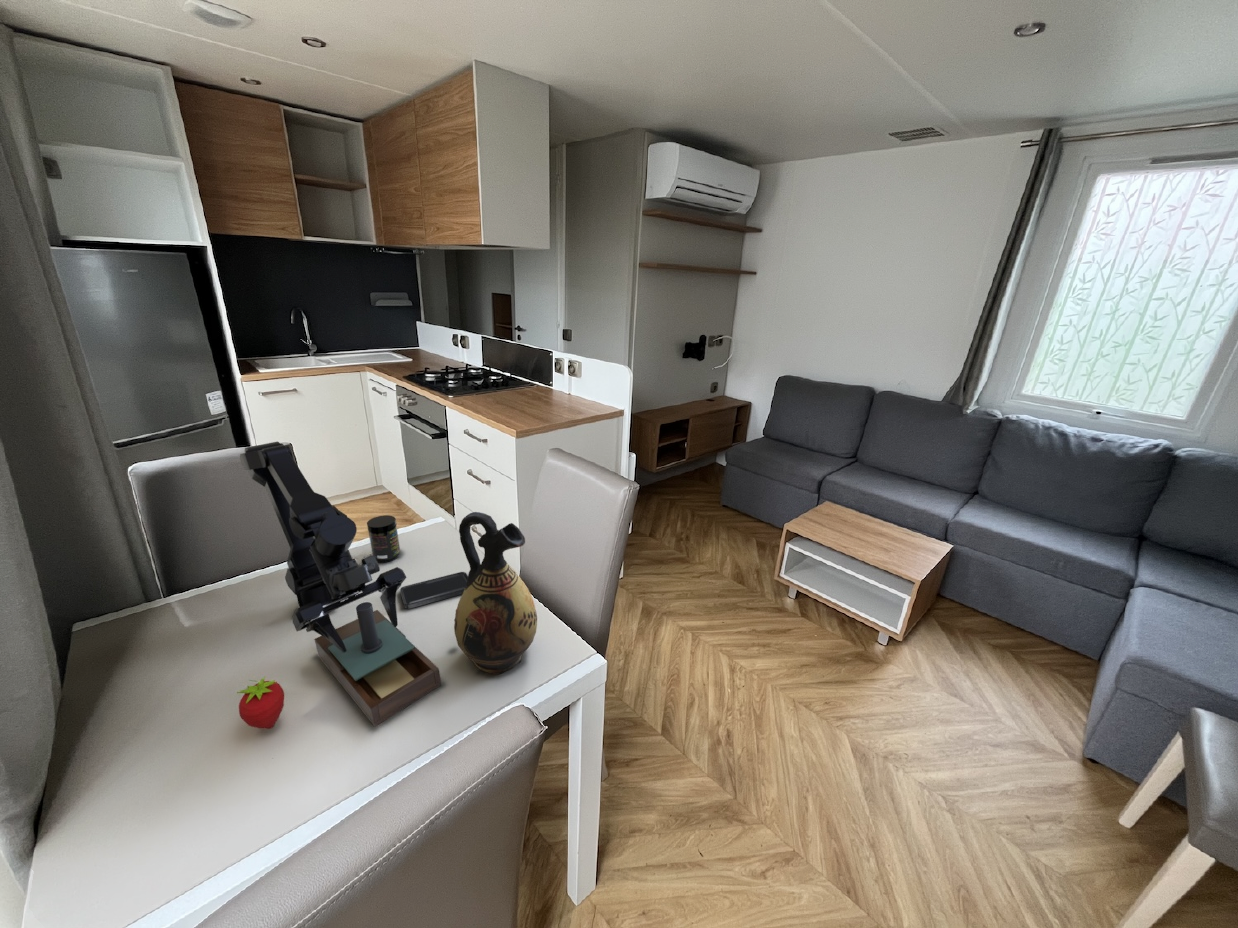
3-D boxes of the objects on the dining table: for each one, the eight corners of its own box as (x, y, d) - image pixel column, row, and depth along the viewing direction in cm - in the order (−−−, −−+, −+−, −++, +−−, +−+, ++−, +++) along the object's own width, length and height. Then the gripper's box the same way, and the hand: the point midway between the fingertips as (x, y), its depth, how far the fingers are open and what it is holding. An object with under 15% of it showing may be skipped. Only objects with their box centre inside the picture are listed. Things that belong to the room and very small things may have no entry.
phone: (472, 587, 115) (404, 605, 108) (473, 591, 116) (405, 609, 109) (464, 570, 122) (399, 586, 115) (465, 574, 122) (400, 591, 115)
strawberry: (244, 753, 76) (227, 703, 72) (251, 716, 82) (236, 669, 79) (289, 738, 78) (275, 689, 75) (293, 703, 85) (280, 657, 81)
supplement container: (403, 548, 133) (398, 514, 130) (398, 562, 127) (392, 526, 123) (376, 551, 132) (370, 516, 128) (370, 564, 126) (363, 528, 122)
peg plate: (328, 648, 91) (318, 606, 88) (386, 620, 99) (379, 580, 95) (355, 681, 84) (345, 636, 80) (415, 648, 91) (409, 606, 88)
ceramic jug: (551, 637, 102) (546, 506, 91) (517, 693, 88) (507, 546, 77) (477, 621, 106) (465, 494, 95) (434, 672, 92) (414, 530, 82)
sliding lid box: (318, 656, 95) (314, 638, 94) (380, 626, 104) (377, 609, 102) (374, 726, 81) (370, 707, 79) (441, 684, 89) (438, 666, 88)
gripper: (283, 569, 80) (322, 655, 78) (394, 529, 94) (431, 602, 91) (277, 590, 88) (313, 670, 85) (381, 551, 101) (415, 618, 99)
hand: (371, 638), depth 90 cm, fingers open, 9 cm apart
